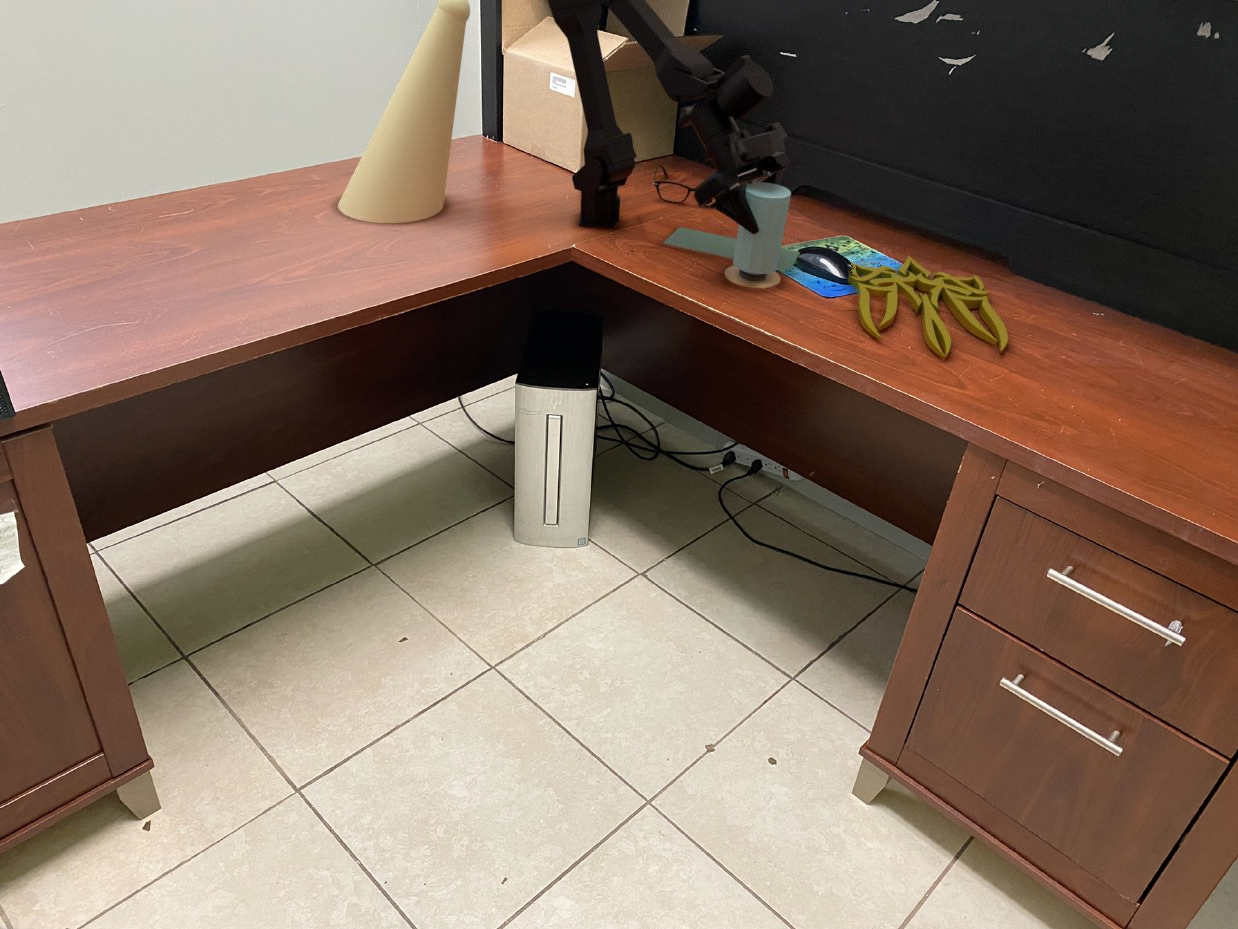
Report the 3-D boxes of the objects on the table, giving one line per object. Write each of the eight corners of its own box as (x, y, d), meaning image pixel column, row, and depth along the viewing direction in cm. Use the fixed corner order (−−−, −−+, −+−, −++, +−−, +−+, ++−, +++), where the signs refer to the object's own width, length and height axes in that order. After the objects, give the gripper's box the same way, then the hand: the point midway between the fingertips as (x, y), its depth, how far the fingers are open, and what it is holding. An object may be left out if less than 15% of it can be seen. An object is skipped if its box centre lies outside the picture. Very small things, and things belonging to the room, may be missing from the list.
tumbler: (731, 270, 135) (743, 194, 128) (734, 253, 141) (746, 180, 134) (776, 276, 134) (790, 200, 127) (777, 259, 140) (791, 185, 133)
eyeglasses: (648, 201, 165) (650, 180, 163) (658, 176, 178) (660, 156, 176) (734, 211, 164) (737, 190, 161) (738, 185, 176) (741, 165, 174)
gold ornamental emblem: (974, 261, 146) (1028, 361, 118) (971, 270, 147) (1024, 371, 119) (842, 247, 148) (865, 342, 119) (840, 256, 148) (862, 352, 120)
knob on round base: (725, 288, 135) (730, 254, 131) (722, 265, 142) (727, 232, 139) (783, 292, 135) (789, 259, 132) (776, 269, 142) (782, 237, 139)
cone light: (320, 215, 148) (288, -16, 127) (361, 183, 163) (339, -30, 142) (460, 233, 146) (450, 0, 126) (489, 198, 161) (484, -15, 140)
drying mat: (662, 245, 147) (662, 243, 147) (679, 229, 154) (679, 226, 154) (788, 273, 141) (788, 270, 141) (800, 254, 148) (800, 252, 148)
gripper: (721, 115, 120) (775, 215, 121) (790, 96, 132) (839, 187, 133) (670, 158, 128) (721, 251, 129) (740, 137, 140) (785, 222, 141)
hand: (769, 227), depth 133 cm, fingers closed on tumbler, 7 cm apart
